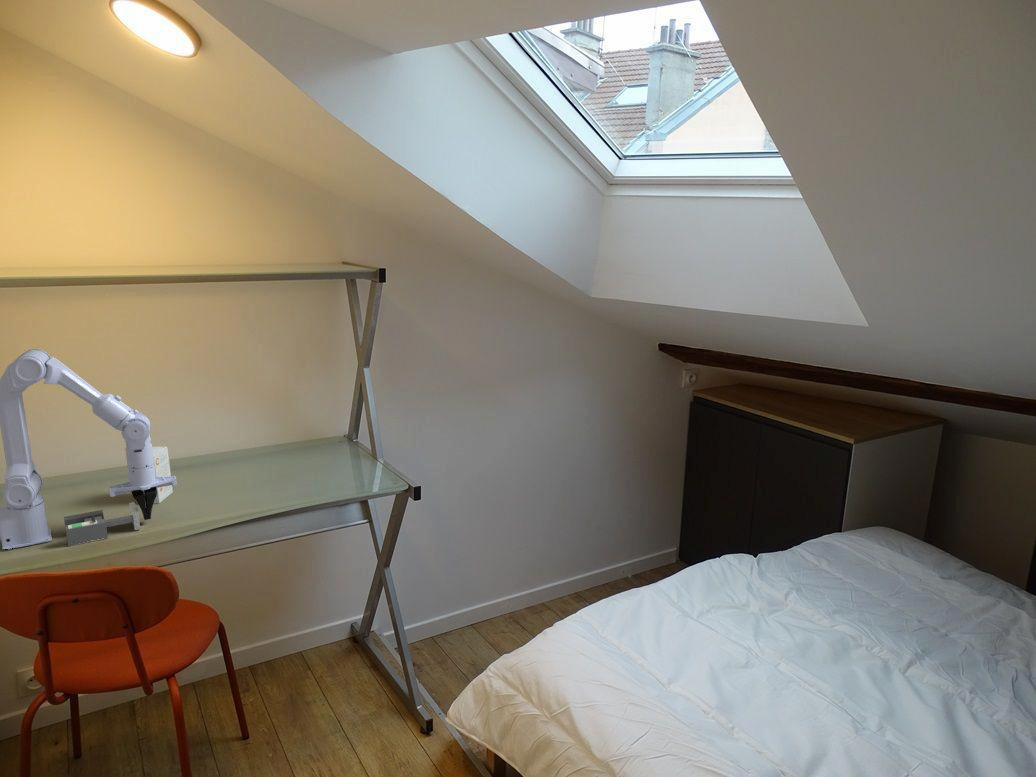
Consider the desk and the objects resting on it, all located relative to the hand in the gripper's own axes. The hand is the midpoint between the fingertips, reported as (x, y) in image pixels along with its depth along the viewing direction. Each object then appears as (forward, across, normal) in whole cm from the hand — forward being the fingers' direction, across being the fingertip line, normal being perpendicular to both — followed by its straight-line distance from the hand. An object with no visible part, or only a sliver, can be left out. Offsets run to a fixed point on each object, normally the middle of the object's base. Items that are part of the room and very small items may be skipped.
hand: (147, 518), depth 187 cm
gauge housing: (+1, -13, 0) cm, 13 cm away
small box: (+2, +4, +18) cm, 18 cm away
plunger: (+1, -7, 0) cm, 8 cm away
